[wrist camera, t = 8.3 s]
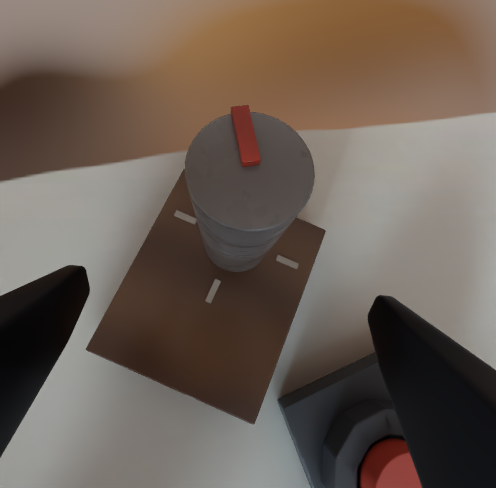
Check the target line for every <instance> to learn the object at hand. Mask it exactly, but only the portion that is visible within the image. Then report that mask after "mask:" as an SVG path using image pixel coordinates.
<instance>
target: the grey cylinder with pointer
mask: <svg viewBox="0 0 496 488" xmlns="http://www.w3.org/2000/svg"><path fill="white" fill-rule="evenodd" d="M314 177H315V174H314V165H313V160H312V157H311V154H310V151H309V149H308V147H307V145H306V144H305V142H304V141H303V139H302V138H301V137H300V136H299V135H298V133H297V132H296V131H294V130H293V129H292V128H291V127H290V126H288V125H287V124H286V123H284V122H282V121H280V120H279V119H277V118H274V117H272V116H269V115H265V114H262V113H256V112H250V110H249V106H248V105H244V106H235V107H231V114H228V115H225V116H222V117H220V118H217V119H215V120H214V121H212V122H210V123H209V124H208V125H206V126H205V127H204V128H203V129H202V130H201V131H200V132H199V133H198V134H197V136H196V137H195V138H194V140H193V141H192V144H191V145H190V147H189V150H188V152H187V156H186V160H185V178H186V183H187V187H188V190H189V194H190V197H191V201H192V205H193V208H194V212H195V215H196V219H197V223H198V226H199V230H200V233H201V237H202V241H203V244H204V248H205V251H206V253H207V255H208V257H209V258H210V260H211V261H212V262H213V263H214V264H215V265H217V266H218V267H220V268H222V269H224V270H227V271H231V272H242V271H246V270H249V269H251V268H253V267H255V266H256V265H258V264H259V263H260V262H261V261H262V259H263V258H264V257H265V256H266V254H267V253H268V252H269V251H270V249H271V248H272V247H273V246H274V244H275V243H276V242H277V240H278V239H279V238H280V237H281V235H282V234H283V233H284V232H285V230H286V229H287V228H288V227H289V225H290V224H291V223H292V222H293V220H294V219H295V218H296V217H297V215H298V214H299V213H300V212H301V210H302V209H303V208H304V206H305V205H306V203H307V202H308V200H309V198H310V195H311V193H312V190H313V185H314Z"/></svg>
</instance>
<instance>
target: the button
mask: <svg viewBox="0 0 496 488" xmlns="http://www.w3.org/2000/svg"><path fill="white" fill-rule="evenodd" d="M359 484H360V488H422V486H421V483H420V480H419V478H418V475H417V472H416V469H415V466H414V464H413V461H412V458H411V455H410V452H409V449H408V447H407V444H406V441H404V440H401V439H393V438H392V439H386V440H383V441H380V442H378V443H377V444H375V445H374V446H373V447H372V448H371V449H370V450H369V451H368V453H367V454H366V456H365V458H364V460H363V462H362V465H361V469H360V476H359Z"/></svg>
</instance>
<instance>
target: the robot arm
mask: <svg viewBox="0 0 496 488" xmlns="http://www.w3.org/2000/svg"><path fill="white" fill-rule="evenodd" d="M89 292H90V287H89V282H88V278H87V273H86V269H85V268H84V267H83V266H75V265H68V266H66V267H63V268H61V269H59V270H57V271H55V272H52V273H50V274H48V275H46V276H44V277H41V278H39V279H37V280H35V281H33V282H30V283H28V284H26V285H24V286H22V287H19V288H17V289H15V290H13V291H11V292H8V293H6V294H4V295H2V296H0V457H1V456H2V454H3V452H4V450H5V449H6V447H7V445H8V444H9V442H10V440H11V438H12V437H13V435H14V433H15V432H16V430H17V428H18V426H19V425H20V423H21V421H22V420H23V418H24V416H25V415H26V413H27V411H28V409H29V408H30V406H31V404H32V403H33V401H34V399H35V397H36V396H37V394H38V392H39V391H40V389H41V387H42V385H43V384H44V382H45V380H46V379H47V377H48V375H49V373H50V372H51V370H52V368H53V367H54V365H55V363H56V361H57V360H58V358H59V356H60V355H61V353H62V351H63V349H64V348H65V346H66V344H67V342H68V340H69V338H70V336H71V334H72V332H73V330H74V327H75V325H76V323H77V321H78V318H79V316H80V314H81V312H82V309H83V307H84V305H85V303H86V300H87V298H88V296H89ZM368 324H369V328H370V332H371V336H372V340H373V344H374V349H375V353H376V357H377V361H378V364H379V367H380V371H381V374H382V376H383V379H384V382H385V385H386V388H387V390H388V393H389V396H390V399H391V402H392V405H393V407H394V410H395V413H396V416H397V419H398V421H399V424H400V427H401V430H402V433H403V435H404V438H405V441H406V444H407V447H408V449H409V452H410V455H411V458H412V461H413V464H414V466H415V469H416V472H417V475H418V478H419V480H420V483H421V486H422V488H496V370H495V369H493V368H492V367H490V366H489V365H488V364H486V363H485V362H483V361H482V360H481V359H479V358H478V357H476V356H475V355H474V354H472V353H471V352H469V351H468V350H466V349H465V348H464V347H462V346H461V345H459V344H458V343H457V342H455V341H454V340H452V339H451V338H450V337H448V336H447V335H445V334H444V333H443V332H441V331H440V330H438V329H437V328H436V327H434V326H433V325H431V324H430V323H428V322H427V321H426V320H424V319H423V318H421V317H420V316H419V315H417V314H416V313H414V312H413V311H412V310H410V309H409V308H407V307H406V306H405V305H403V304H402V303H400V302H399V301H398V300H396V299H395V298H393V297H391V296H384V295H379V296H377V297H376V299H375V301H374V303H373V305H372V307H371V309H370V311H369V313H368Z"/></svg>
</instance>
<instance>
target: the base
mask: <svg viewBox="0 0 496 488" xmlns="http://www.w3.org/2000/svg"><path fill="white" fill-rule="evenodd" d="M325 232H326V231H325V230H324V229H322V228H319V227H317V226H315V225H312V224H310V223H308V222H306V221H303V220H301V219H299V218H295V219H294V220H293V222H292V223H291V224H290V225H289V227H288V228H287V229H286V230H285V232H284V233H283V234H282V235H281V237H280V238H279V239H278V240H277V242H276V243H275V244H274V246H273V247H272V248H271V249H270V251H269V252H268V253H267V254H266V256H265V257H264V258H263V259H262V261H261V262H260V263H259V264H258V265H256V266H255V267H253V268H251V269H249V270H246V271H242V272H231V271H227V270H224V269H222V268H220V267H218V266H217V265H215V264H214V263H213V262H212V261H211V260H210V258H209V257H208V255H207V253H206V251H205V248H204V244H203V241H202V237H201V233H200V230H199V226H198V223H197V219H196V215H195V212H194V208H193V205H192V201H191V197H190V194H189V190H188V187H187V183H186V178H185V169H184V170H183V172H182V174H181V175H180V177H179V179H178V181H177V183H176V185H175V186H174V188H173V190H172V192H171V194H170V196H169V197H168V199H167V201H166V203H165V205H164V207H163V208H162V210H161V212H160V214H159V216H158V218H157V219H156V221H155V223H154V225H153V227H152V229H151V230H150V232H149V234H148V236H147V238H146V240H145V241H144V243H143V245H142V247H141V249H140V251H139V252H138V254H137V256H136V258H135V260H134V262H133V263H132V265H131V267H130V269H129V271H128V273H127V274H126V276H125V278H124V280H123V282H122V283H121V285H120V287H119V289H118V291H117V293H116V294H115V296H114V298H113V300H112V302H111V304H110V305H109V307H108V309H107V311H106V313H105V315H104V316H103V318H102V320H101V322H100V324H99V326H98V327H97V329H96V331H95V333H94V335H93V337H92V338H91V340H90V342H89V344H88V346H87V348H86V350H87V351H89V352H91V353H94V354H96V355H98V356H100V357H102V358H105V359H107V360H109V361H111V362H114V363H116V364H118V365H120V366H123V367H125V368H127V369H129V370H132V371H134V372H136V373H138V374H141V375H143V376H145V377H147V378H150V379H152V380H154V381H156V382H158V383H161V384H163V385H165V386H167V387H170V388H172V389H174V390H176V391H179V392H181V393H183V394H185V395H188V396H190V397H192V398H194V399H197V400H199V401H201V402H203V403H206V404H208V405H210V406H212V407H215V408H217V409H219V410H221V411H223V412H226V413H228V414H230V415H232V416H235V417H237V418H239V419H241V420H244V421H246V422H248V423H250V424H254V423H255V421H256V418H257V416H258V413H259V410H260V408H261V405H262V402H263V399H264V397H265V394H266V391H267V389H268V386H269V383H270V381H271V378H272V375H273V372H274V370H275V367H276V364H277V362H278V359H279V356H280V353H281V351H282V348H283V345H284V343H285V340H286V337H287V335H288V332H289V329H290V326H291V324H292V321H293V318H294V316H295V313H296V310H297V308H298V305H299V302H300V299H301V297H302V294H303V291H304V289H305V286H306V283H307V281H308V278H309V275H310V272H311V270H312V267H313V264H314V262H315V259H316V256H317V253H318V251H319V248H320V245H321V243H322V240H323V237H324V235H325Z"/></svg>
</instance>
